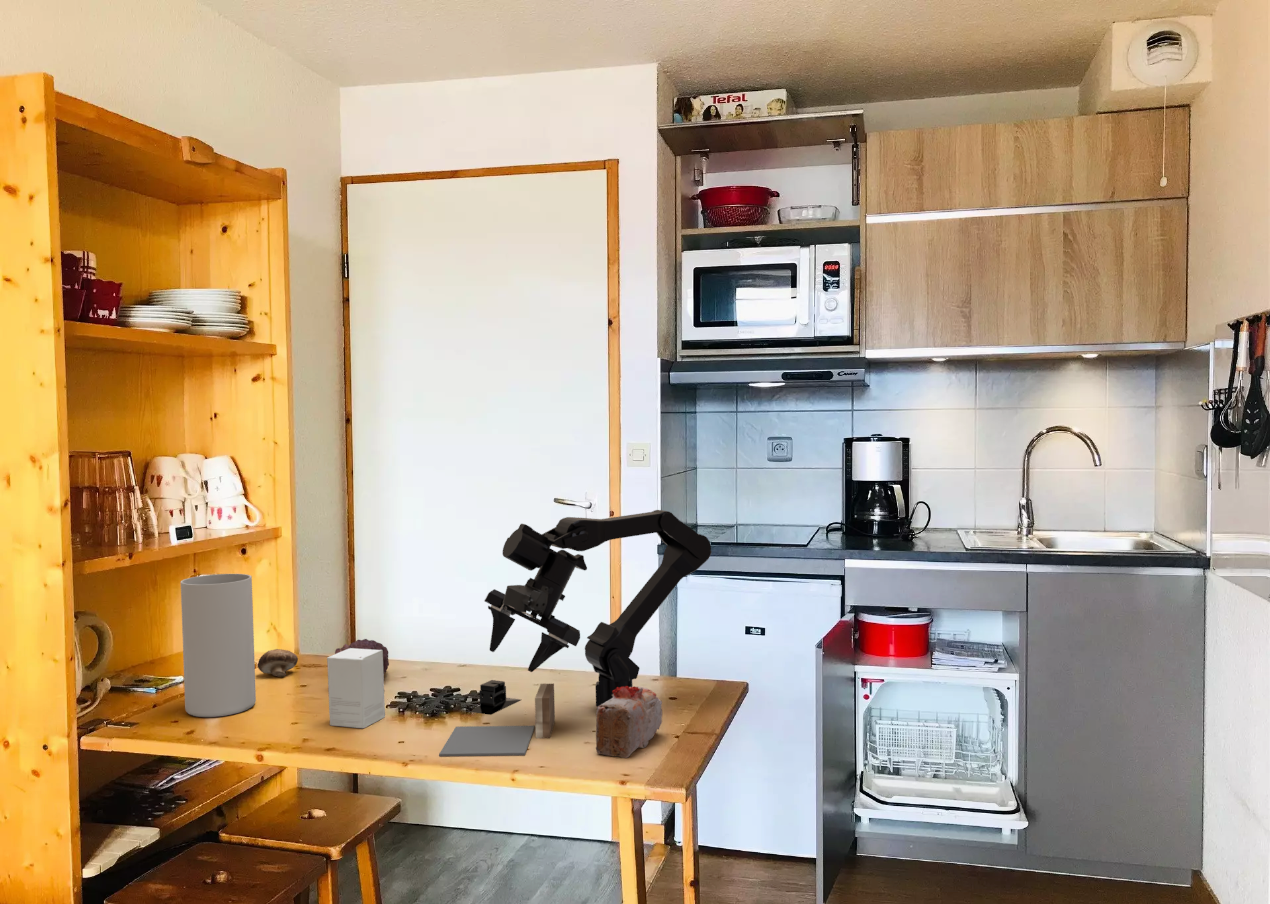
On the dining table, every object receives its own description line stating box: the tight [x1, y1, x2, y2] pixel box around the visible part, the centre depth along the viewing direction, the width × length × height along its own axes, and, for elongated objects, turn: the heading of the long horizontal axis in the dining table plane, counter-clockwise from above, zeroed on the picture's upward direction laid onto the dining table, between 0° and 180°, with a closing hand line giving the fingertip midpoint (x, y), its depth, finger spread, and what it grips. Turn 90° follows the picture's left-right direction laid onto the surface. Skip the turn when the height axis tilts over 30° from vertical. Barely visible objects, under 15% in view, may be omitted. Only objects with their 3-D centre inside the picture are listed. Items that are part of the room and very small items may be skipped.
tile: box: [534, 683, 556, 739], centre depth 174 cm, size 2×9×7 cm, turn 179°
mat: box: [438, 725, 536, 757], centre depth 168 cm, size 14×14×1 cm
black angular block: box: [467, 679, 522, 716], centre depth 189 cm, size 13×8×5 cm, turn 154°
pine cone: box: [334, 638, 390, 675], centre depth 207 cm, size 18×10×10 cm
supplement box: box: [326, 648, 386, 729], centre depth 181 cm, size 7×7×13 cm
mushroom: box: [257, 648, 299, 678], centre depth 214 cm, size 8×8×6 cm
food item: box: [595, 686, 663, 759], centre depth 166 cm, size 14×8×10 cm, turn 159°
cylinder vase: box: [180, 573, 257, 718], centre depth 190 cm, size 12×12×25 cm
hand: (510, 661), depth 176 cm, fingers open, 9 cm apart
